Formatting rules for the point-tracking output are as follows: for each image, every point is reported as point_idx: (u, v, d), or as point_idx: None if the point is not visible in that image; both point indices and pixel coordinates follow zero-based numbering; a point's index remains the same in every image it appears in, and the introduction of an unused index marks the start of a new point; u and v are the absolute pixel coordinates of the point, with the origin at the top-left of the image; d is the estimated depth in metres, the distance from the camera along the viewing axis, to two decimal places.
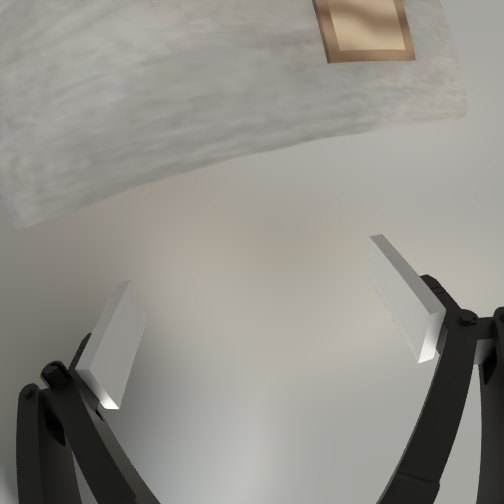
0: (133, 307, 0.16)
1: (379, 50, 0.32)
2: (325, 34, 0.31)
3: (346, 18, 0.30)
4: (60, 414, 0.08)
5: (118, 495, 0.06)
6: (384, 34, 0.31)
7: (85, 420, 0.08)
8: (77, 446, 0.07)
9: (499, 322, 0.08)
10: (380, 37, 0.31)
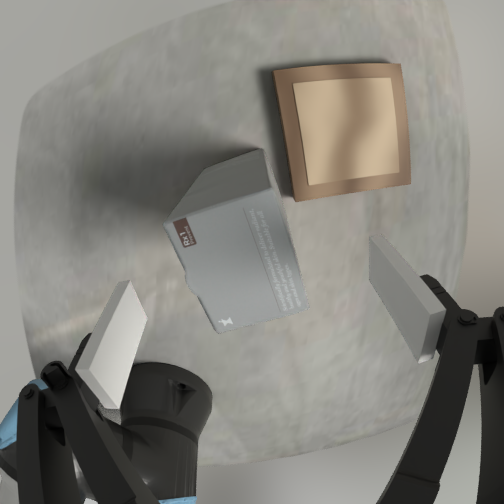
0: (133, 307, 0.16)
1: (396, 117, 0.27)
2: (379, 187, 0.30)
3: (358, 158, 0.28)
4: (60, 414, 0.08)
5: (118, 495, 0.06)
6: (374, 106, 0.26)
7: (85, 420, 0.08)
8: (77, 446, 0.07)
9: (499, 322, 0.08)
10: (379, 113, 0.26)
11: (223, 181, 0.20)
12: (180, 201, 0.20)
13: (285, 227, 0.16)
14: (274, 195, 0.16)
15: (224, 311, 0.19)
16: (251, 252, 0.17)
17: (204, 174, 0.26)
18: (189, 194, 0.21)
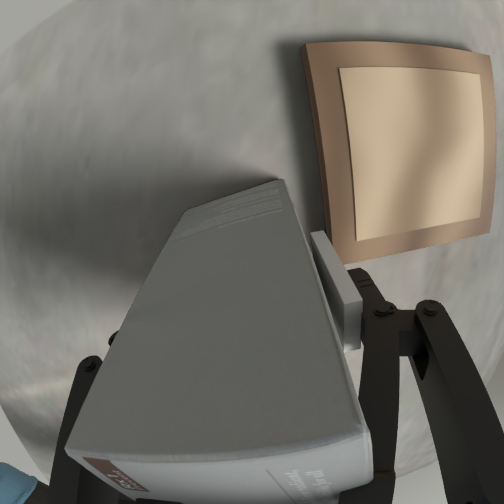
0: None
1: (484, 136, 0.15)
2: (452, 239, 0.18)
3: (432, 198, 0.17)
4: None
5: None
6: (459, 116, 0.14)
7: None
8: None
9: (423, 317, 0.10)
10: (465, 128, 0.15)
11: (209, 296, 0.08)
12: (116, 339, 0.08)
13: (370, 474, 0.05)
14: (367, 442, 0.04)
15: None
16: None
17: (180, 234, 0.14)
18: (137, 314, 0.09)
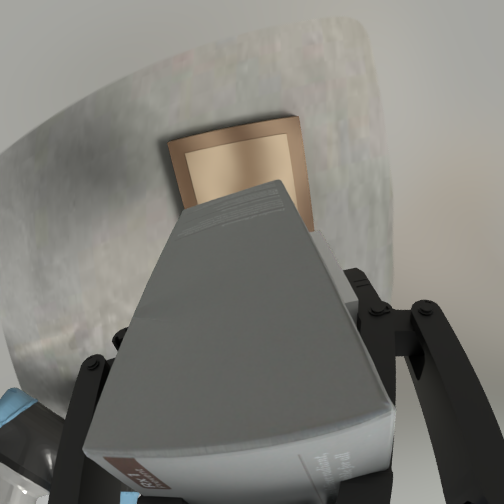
0: None
1: (293, 173, 0.30)
2: None
3: None
4: None
5: None
6: (268, 165, 0.30)
7: None
8: None
9: (418, 317, 0.10)
10: (274, 172, 0.30)
11: (222, 291, 0.09)
12: (126, 336, 0.08)
13: (389, 456, 0.05)
14: (393, 420, 0.04)
15: None
16: (302, 496, 0.05)
17: (181, 232, 0.14)
18: (147, 310, 0.09)
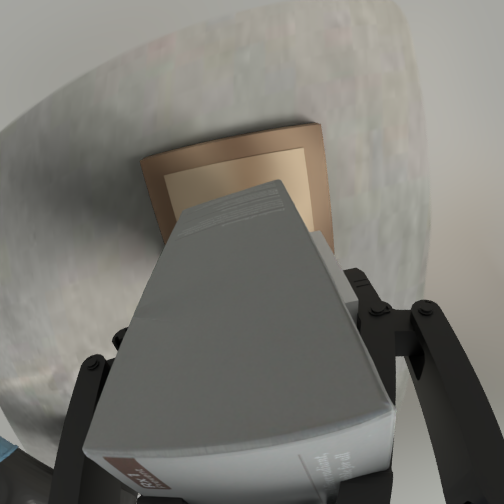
0: None
1: (312, 202, 0.23)
2: None
3: None
4: None
5: None
6: None
7: None
8: None
9: (418, 317, 0.10)
10: None
11: (222, 291, 0.09)
12: (126, 336, 0.08)
13: (389, 456, 0.05)
14: (393, 420, 0.04)
15: None
16: (301, 496, 0.05)
17: (181, 232, 0.14)
18: (147, 310, 0.09)
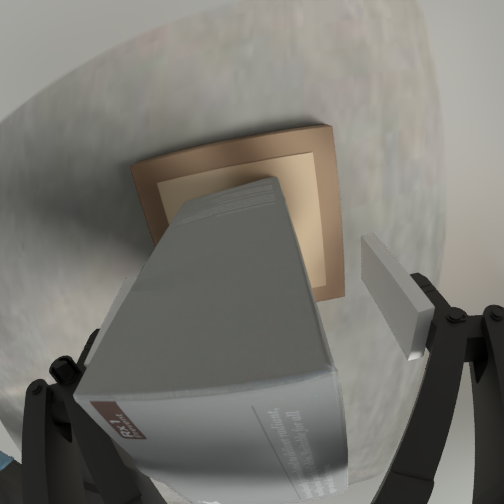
0: None
1: (321, 212, 0.20)
2: None
3: None
4: (68, 409, 0.09)
5: (123, 492, 0.06)
6: None
7: None
8: (84, 442, 0.07)
9: (489, 320, 0.09)
10: (293, 211, 0.20)
11: (207, 270, 0.10)
12: (122, 306, 0.09)
13: (343, 426, 0.06)
14: (336, 383, 0.05)
15: (208, 497, 0.08)
16: (263, 459, 0.07)
17: (180, 221, 0.16)
18: (142, 285, 0.10)
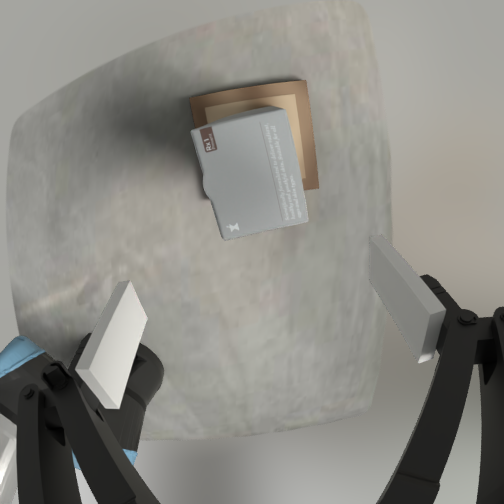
0: (133, 307, 0.16)
1: (300, 129, 0.33)
2: None
3: None
4: (60, 414, 0.08)
5: (118, 495, 0.06)
6: None
7: (85, 420, 0.08)
8: (77, 446, 0.07)
9: (499, 322, 0.08)
10: None
11: (241, 113, 0.22)
12: None
13: (293, 142, 0.19)
14: (286, 114, 0.18)
15: (233, 216, 0.21)
16: (262, 161, 0.19)
17: None
18: (211, 123, 0.23)
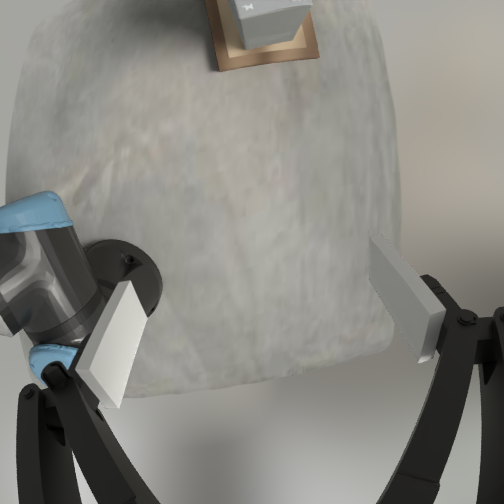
0: (133, 307, 0.16)
1: None
2: (289, 58, 0.34)
3: None
4: (60, 414, 0.08)
5: (118, 495, 0.06)
6: None
7: (85, 420, 0.08)
8: (77, 446, 0.07)
9: (499, 322, 0.08)
10: None
11: None
12: None
13: None
14: None
15: None
16: None
17: None
18: None
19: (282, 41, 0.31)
